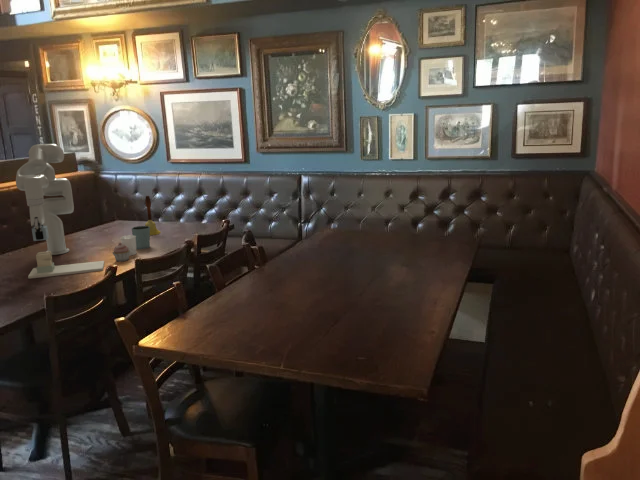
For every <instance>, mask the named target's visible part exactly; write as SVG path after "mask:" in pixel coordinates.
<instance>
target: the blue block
mask: <svg viewBox="0 0 640 480" xmlns="http://www.w3.org/2000/svg"><path fill="white" fill-rule="evenodd" d="M41 228H42V231H43V238H44V239H40V240H36V234H35V226H32V228H31V232H32V233H31V234H32V239H33V242H36V241H37V242H38V241H46V240H47V239H48V238H49V235H48V228H47V226H41Z"/></svg>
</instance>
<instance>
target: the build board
mask: <svg viewBox="0 0 640 480" xmlns="http://www.w3.org/2000/svg"><path fill="white" fill-rule="evenodd" d="M52 262H53V261H52ZM104 267H105V260H100V261H99V260H98V261H89V262H78V263H70V264H62V265H61V264H60V265H55V262H53V263H52V265H51V266H43V267H38V265H37V266H36V267H33V268H32V270H31V271H30V273H29V274H28V277H27V279H36V278H48V277H54V276H55V277H56V276H66V275H73V274H83V273H92V272H101V271H102V272H103V271H104Z"/></svg>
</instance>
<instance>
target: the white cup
mask: <svg viewBox="0 0 640 480" xmlns="http://www.w3.org/2000/svg"><path fill="white" fill-rule="evenodd" d="M120 241H121V242H120V243H123V244H125V245H126V246H127V247H128V250H130V254H129V257H130V256H135V255H137V249H136V236H133V234H132V235H124V236H121V237H120Z"/></svg>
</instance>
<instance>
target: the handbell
mask: <svg viewBox="0 0 640 480" xmlns="http://www.w3.org/2000/svg"><path fill="white" fill-rule="evenodd" d="M144 202H145V208H146V213H147V222H145V224H144V226H149V227H150V235H149V236H150V237H151V236H157V235H160V234H161V233H162V232H161V231H160V230H159V229H158V228H157V226H156V222H155V221H153V219H152V212H151V210H152V209H151V207H152V202H151V196H149V195H145V199H144Z"/></svg>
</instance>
